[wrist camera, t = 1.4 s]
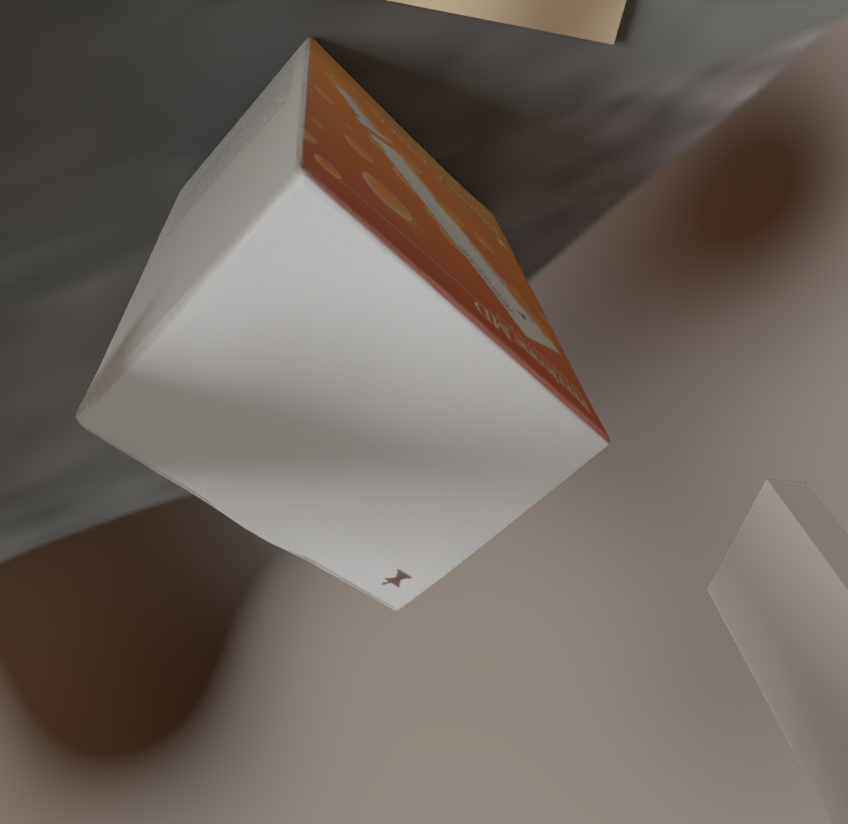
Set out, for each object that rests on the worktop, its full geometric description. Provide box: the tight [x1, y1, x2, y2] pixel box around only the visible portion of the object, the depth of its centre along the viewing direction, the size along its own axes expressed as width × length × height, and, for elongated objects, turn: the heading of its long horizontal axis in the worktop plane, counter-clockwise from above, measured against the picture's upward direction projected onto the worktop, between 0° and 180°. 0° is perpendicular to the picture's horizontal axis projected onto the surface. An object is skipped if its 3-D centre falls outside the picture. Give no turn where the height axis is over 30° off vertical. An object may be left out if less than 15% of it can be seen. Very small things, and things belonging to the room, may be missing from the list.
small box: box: [76, 37, 609, 611], centre depth 20 cm, size 8×6×13 cm
